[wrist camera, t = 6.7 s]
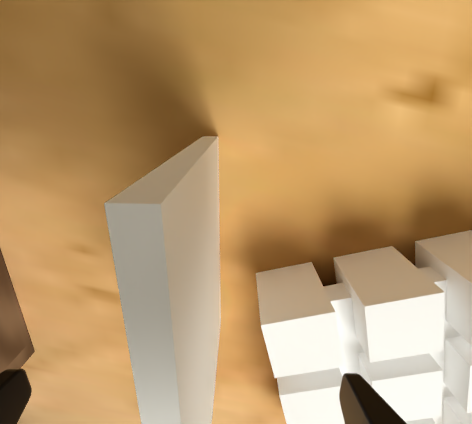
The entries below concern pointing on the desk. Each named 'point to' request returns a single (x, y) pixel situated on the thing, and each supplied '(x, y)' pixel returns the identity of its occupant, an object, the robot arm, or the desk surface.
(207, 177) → the sheet
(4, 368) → the tray
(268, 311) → the organizer
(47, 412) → the desk surface
